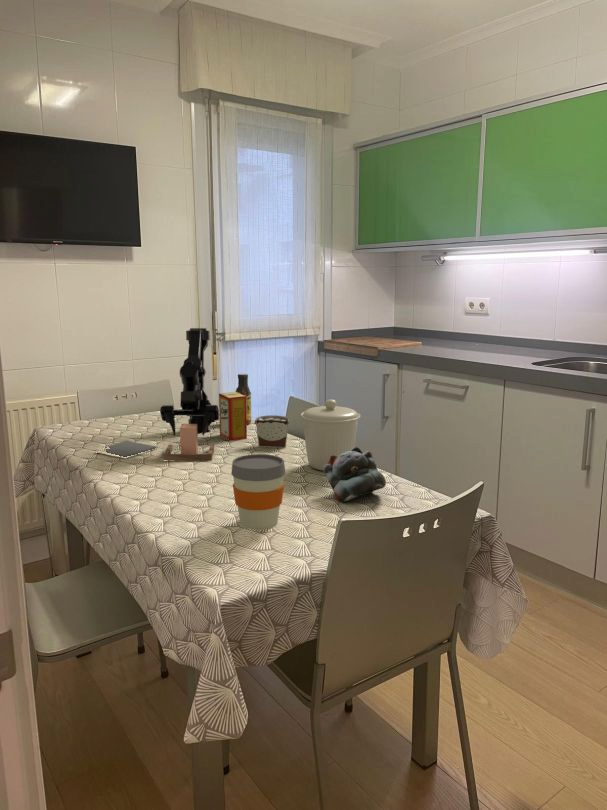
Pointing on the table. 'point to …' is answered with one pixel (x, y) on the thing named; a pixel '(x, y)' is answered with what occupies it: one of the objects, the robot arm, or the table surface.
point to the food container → (272, 431)
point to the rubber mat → (128, 448)
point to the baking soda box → (233, 416)
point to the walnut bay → (188, 455)
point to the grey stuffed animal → (353, 474)
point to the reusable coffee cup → (258, 489)
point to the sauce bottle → (245, 393)
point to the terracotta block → (189, 439)
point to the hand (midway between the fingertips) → (188, 434)
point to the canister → (328, 432)
